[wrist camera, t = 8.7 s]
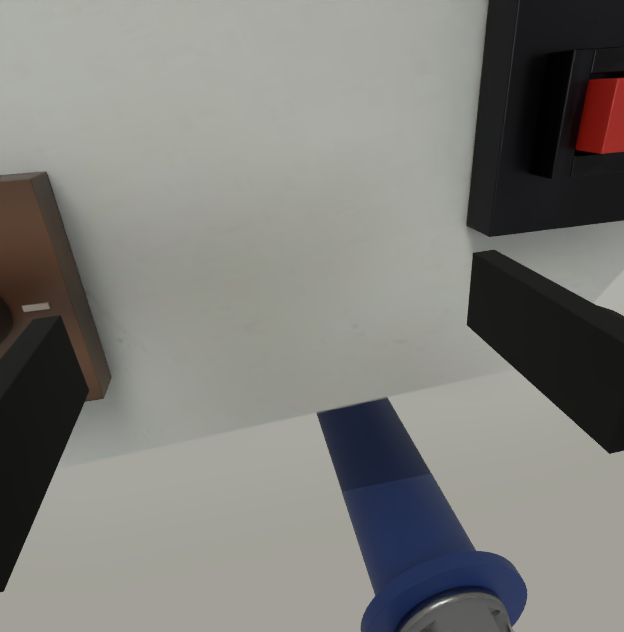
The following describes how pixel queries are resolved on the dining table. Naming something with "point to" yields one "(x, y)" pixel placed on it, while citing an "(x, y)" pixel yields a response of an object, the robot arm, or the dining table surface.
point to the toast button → (602, 117)
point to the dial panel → (44, 273)
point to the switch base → (544, 117)
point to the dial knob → (4, 320)
